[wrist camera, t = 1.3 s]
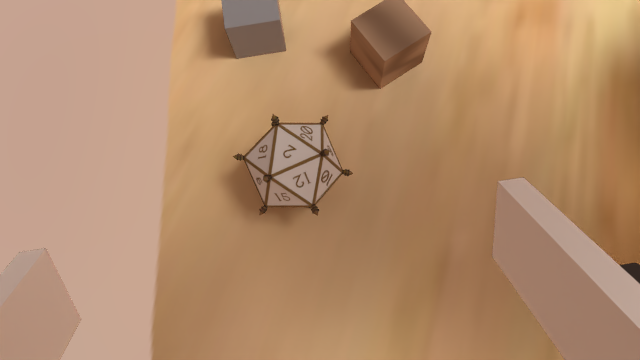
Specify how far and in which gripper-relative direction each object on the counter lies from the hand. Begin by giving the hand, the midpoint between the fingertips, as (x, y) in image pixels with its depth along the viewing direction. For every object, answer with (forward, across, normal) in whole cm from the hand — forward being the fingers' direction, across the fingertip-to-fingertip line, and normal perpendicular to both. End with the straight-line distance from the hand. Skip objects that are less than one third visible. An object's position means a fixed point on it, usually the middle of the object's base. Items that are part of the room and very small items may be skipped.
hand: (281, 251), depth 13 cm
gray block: (+37, -2, +1) cm, 37 cm away
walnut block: (+33, +10, -3) cm, 35 cm away
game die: (+26, 0, -11) cm, 28 cm away
